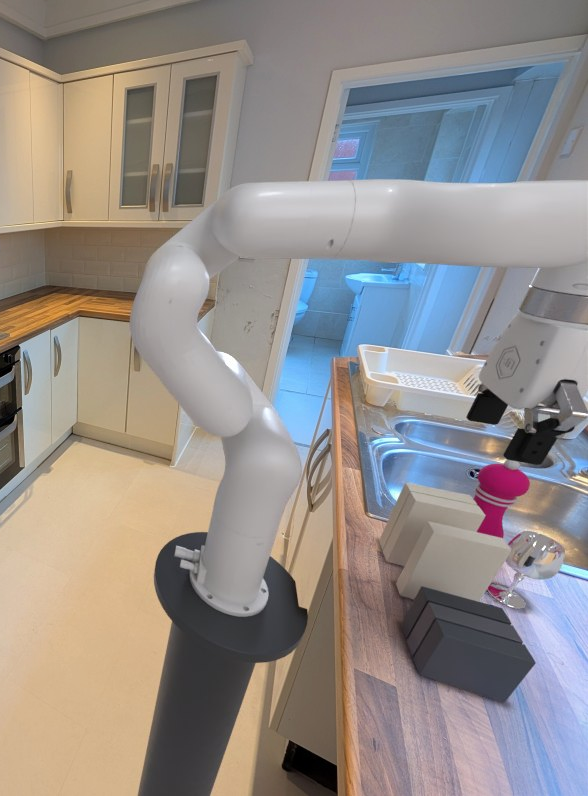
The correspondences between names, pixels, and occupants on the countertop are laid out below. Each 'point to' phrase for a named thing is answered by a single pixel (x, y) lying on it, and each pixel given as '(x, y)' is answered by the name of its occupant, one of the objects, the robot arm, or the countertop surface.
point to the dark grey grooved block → (465, 644)
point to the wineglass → (529, 564)
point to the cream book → (453, 562)
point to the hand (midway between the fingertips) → (499, 440)
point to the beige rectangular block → (425, 518)
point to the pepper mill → (498, 493)
